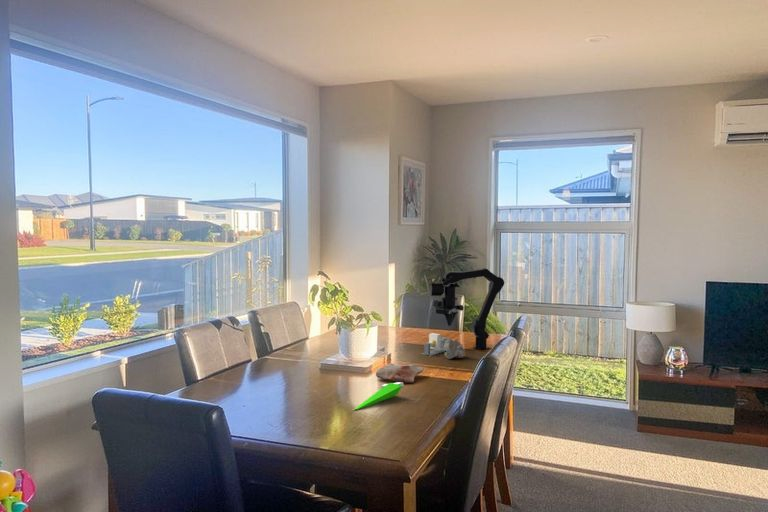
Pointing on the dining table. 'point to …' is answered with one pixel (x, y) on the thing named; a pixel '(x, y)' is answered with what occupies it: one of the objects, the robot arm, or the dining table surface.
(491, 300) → the robot arm
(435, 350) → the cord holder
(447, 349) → the rock
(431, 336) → the sleeve
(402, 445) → the dining table surface
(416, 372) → the stone
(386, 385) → the green wedge
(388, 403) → the dining table surface
